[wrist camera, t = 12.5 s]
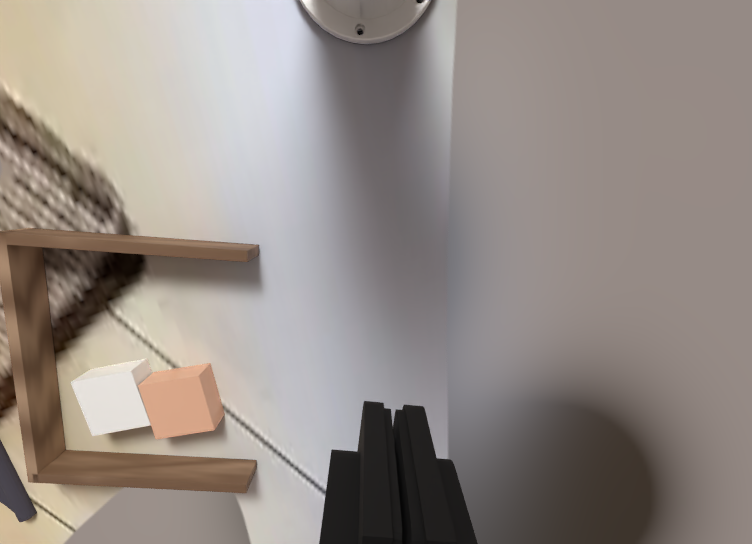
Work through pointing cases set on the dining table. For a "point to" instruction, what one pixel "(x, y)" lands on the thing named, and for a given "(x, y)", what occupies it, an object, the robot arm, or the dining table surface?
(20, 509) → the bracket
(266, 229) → the dining table surface
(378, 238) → the dining table surface
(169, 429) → the terracotta tile
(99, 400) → the white square tile
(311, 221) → the dining table surface
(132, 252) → the frame
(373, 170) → the dining table surface
